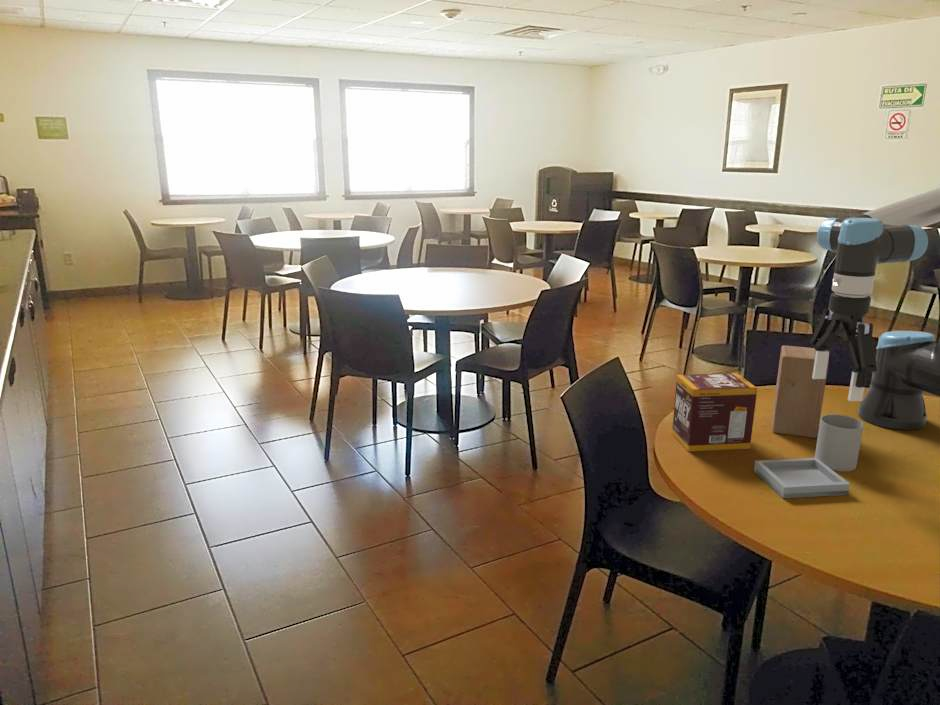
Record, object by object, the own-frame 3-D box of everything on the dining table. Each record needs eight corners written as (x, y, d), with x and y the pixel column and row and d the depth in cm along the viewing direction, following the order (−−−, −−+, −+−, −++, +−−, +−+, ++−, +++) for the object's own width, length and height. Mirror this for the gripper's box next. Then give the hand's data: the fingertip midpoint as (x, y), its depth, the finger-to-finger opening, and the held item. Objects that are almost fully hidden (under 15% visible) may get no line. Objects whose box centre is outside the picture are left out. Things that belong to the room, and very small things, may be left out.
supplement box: (670, 433, 170) (676, 374, 165) (731, 431, 171) (737, 372, 166) (686, 452, 160) (692, 389, 155) (750, 449, 161) (758, 386, 157)
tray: (814, 467, 152) (816, 457, 151) (848, 494, 140) (850, 483, 140) (753, 471, 151) (755, 460, 150) (782, 498, 139) (784, 487, 139)
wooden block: (772, 433, 170) (782, 355, 164) (771, 418, 179) (781, 344, 173) (817, 439, 166) (829, 360, 160) (814, 423, 175) (825, 348, 169)
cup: (861, 472, 150) (868, 430, 147) (820, 469, 151) (827, 427, 148) (849, 456, 157) (856, 415, 154) (810, 453, 159) (816, 413, 156)
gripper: (801, 282, 155) (789, 370, 161) (871, 308, 131) (854, 411, 138) (833, 281, 156) (820, 369, 162) (908, 307, 132) (889, 409, 138)
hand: (836, 389), depth 150 cm, fingers open, 13 cm apart
